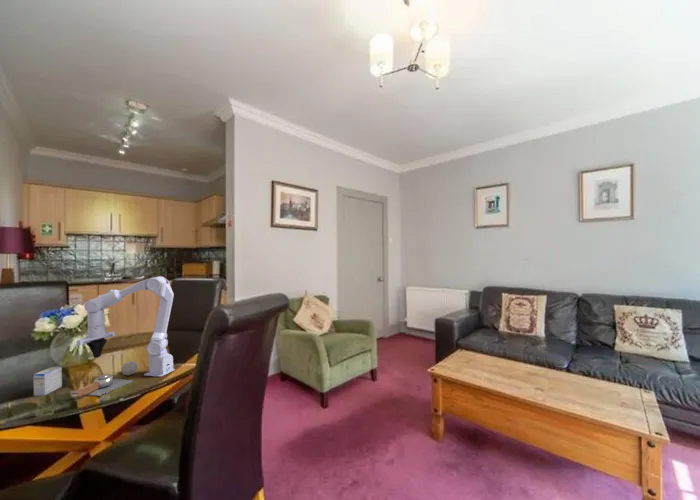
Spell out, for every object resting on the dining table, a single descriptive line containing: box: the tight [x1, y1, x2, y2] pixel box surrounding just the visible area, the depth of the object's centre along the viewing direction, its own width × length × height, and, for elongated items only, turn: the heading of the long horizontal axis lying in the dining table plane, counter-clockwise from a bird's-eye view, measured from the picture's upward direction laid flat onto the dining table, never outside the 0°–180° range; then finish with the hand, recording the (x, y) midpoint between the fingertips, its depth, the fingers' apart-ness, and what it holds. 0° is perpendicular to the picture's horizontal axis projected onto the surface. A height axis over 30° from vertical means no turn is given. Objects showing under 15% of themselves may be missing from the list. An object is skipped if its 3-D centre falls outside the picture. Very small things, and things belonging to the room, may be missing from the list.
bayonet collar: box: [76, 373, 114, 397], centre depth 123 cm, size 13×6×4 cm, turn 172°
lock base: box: [71, 378, 134, 397], centre depth 127 cm, size 14×14×1 cm
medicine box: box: [32, 366, 63, 397], centre depth 125 cm, size 8×4×9 cm, turn 5°
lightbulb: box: [121, 360, 139, 376], centre depth 142 cm, size 6×6×11 cm
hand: (97, 357), depth 134 cm, fingers closed
